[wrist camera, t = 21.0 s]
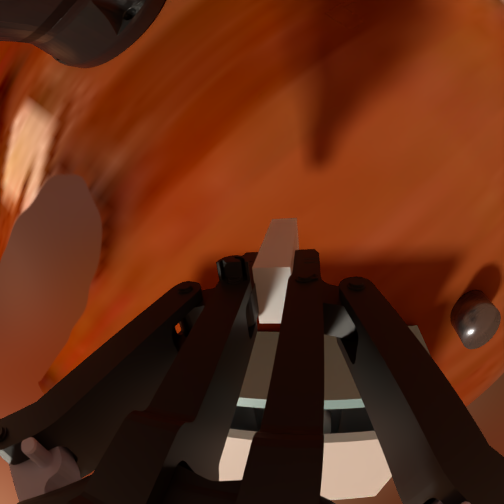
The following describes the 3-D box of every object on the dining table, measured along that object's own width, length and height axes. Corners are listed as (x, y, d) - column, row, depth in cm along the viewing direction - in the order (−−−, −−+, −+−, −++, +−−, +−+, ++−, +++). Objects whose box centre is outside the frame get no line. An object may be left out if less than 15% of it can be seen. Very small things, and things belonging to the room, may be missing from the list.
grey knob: (456, 292, 22) (470, 310, 19) (490, 288, 21) (506, 304, 18) (445, 331, 24) (456, 352, 20) (479, 326, 22) (491, 344, 19)
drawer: (183, 327, 29) (147, 383, 21) (417, 325, 23) (443, 387, 16) (223, 439, 37) (209, 482, 29) (376, 442, 32) (378, 488, 24)
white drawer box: (197, 360, 31) (165, 424, 22) (404, 360, 26) (423, 431, 17) (227, 441, 38) (211, 489, 29) (372, 444, 33) (375, 495, 24)
